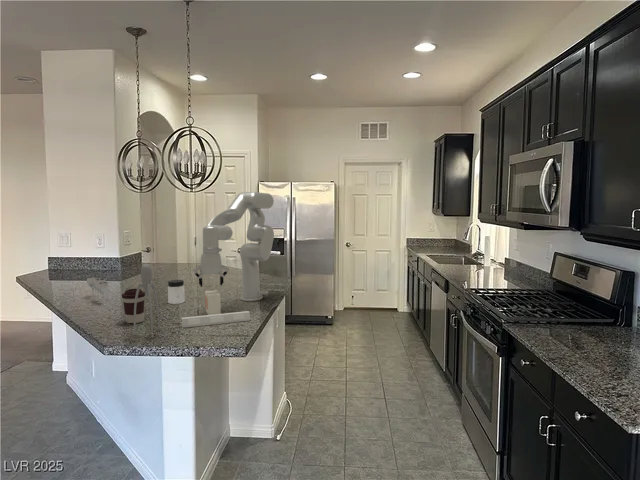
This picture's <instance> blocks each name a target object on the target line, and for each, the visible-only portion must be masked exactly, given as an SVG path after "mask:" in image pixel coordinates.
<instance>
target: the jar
mask: <svg viewBox="0 0 640 480" xmlns="http://www.w3.org/2000/svg"><path fill="white" fill-rule="evenodd" d="M167 285H168V286H167V299H168V300H167V301H168V302H167V303H168V304H171V305H178V304H183V303H185V302H186V297H185V296H186V294H185V284H184V279H172V280H171V279H170V280H168V281H167Z"/></svg>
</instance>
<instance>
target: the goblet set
mask: <svg viewBox="0 0 640 480" xmlns="http://www.w3.org/2000/svg"><path fill="white" fill-rule="evenodd" d="M86 284H87V286H89V287H90V288H91V291H92V292H94V293H92V296H90V297H89V299H94V300H93V301H99V302H97V304H98V303H101V305H100V306H107V305H110V303H108V302H107V301H106V294H107V292H108V290H109V282H107V281H106V278H101V277H99V276H98V275H97V276H88V277H87V279H86ZM94 294H95V296H94ZM99 295H100V296H99Z"/></svg>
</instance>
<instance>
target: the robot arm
mask: <svg viewBox="0 0 640 480" xmlns="http://www.w3.org/2000/svg"><path fill="white" fill-rule="evenodd" d="M274 201H275V200H274V197H273V195H271V194H270V193H266V192H257V191H242V192H239V193H238V194H237V195H236V197H235V198H234V199H233V200H232V202H231V203H230V205H229V206H228V208H227V209H225V210H223V211H221V212H220V213H219V214H217V215H215V216H214V217H213V218H212V219H210V221H209V223H208V224H207V225H206V226H203V228H202V253H201V255H200V265H199V266H197V267H195V268H193V269H192V271H193V273H194V275H195V276H196V278H198V285H199V286H200V288H201V287H203V276H204V275H218V274H219V275H220V276H219V284H220V286H223V284H224V282H225V281H224V278H225V276H226V275H227V274H228V271H229V270H230V268H229V267H227V266H225V265H223V264H222V258H221V253H220V252H222V251H223V250H222V248H220V247H219V241H228V240H230V239H231V238H232V236H233V233H234V232H233V230H232V228H231V227H230V226H228V225H229V224H231V223H236V222H237V221H240V220H241V218H243V216H244V214H245V213H246V211H247V210H248V212H249V222H248V224H247V225H248V226H247V231H246V239H247V240H248V241H250V242H247V243H243V244H242V245H241V246H240V248H239V256H240V260H241V261H240V262H241V269H242V271H241V272H242V273H241V277H242V295H240V297H239V299H240V301H243V302H244V301H245V302H257V301H260V300H263V297H264V296H267V295H269V291H267V290H261V285H260V265H259V263H258V262H265V261H267V260H269V258H270V257H271V252H272V247H273V243H274V240H275V238H274V237H275V231H274V229H273V227H272V226H271V225H267V224H265V222H266V221H265V220H266V218H265V214H264V212H263V210H262V209H264V210H265V209H267V210H268V209H270V208H272V207H273V205H274ZM253 242H254V243H253ZM255 242H257V243H255ZM257 261H258V262H257ZM222 269H224V272H223V270H222ZM197 271H200V273H198V272H197ZM263 295H264V296H263Z"/></svg>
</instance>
